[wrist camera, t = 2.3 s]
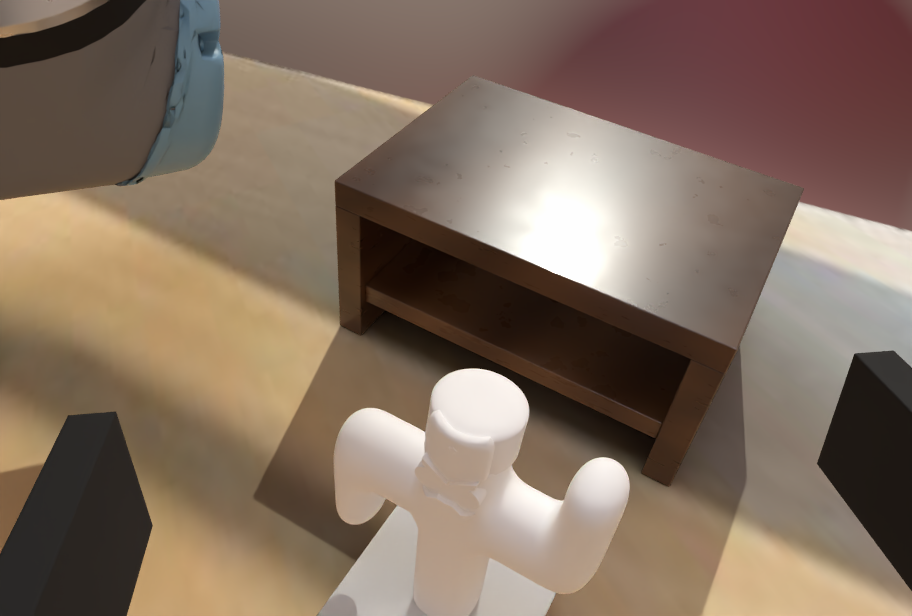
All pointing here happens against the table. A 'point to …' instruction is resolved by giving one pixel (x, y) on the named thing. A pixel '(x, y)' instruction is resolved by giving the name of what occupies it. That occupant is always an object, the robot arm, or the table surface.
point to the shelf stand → (564, 253)
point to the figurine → (465, 510)
